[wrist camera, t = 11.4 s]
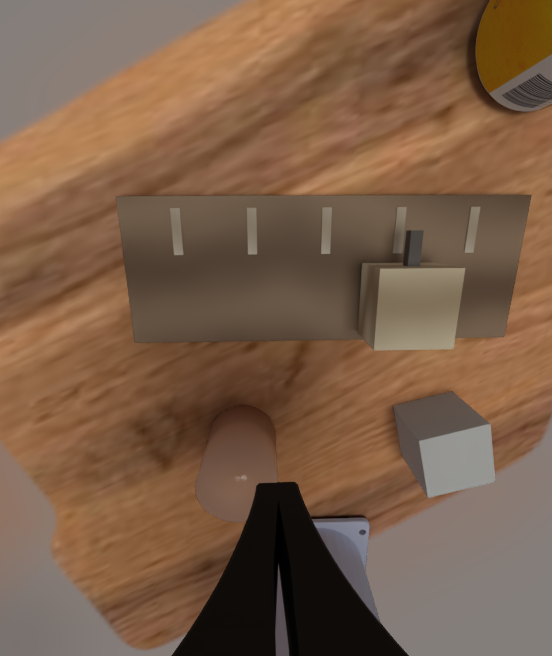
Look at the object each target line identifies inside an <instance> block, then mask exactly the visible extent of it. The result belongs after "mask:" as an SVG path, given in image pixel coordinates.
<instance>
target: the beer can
mask: <svg viewBox="0 0 552 656" xmlns="http://www.w3.org/2000/svg"><path fill="white" fill-rule="evenodd" d="M475 50H476V64H477V71H478V75H479V78H480V80H481V83H482V85H483V86H484V88H485V89H486V91H487V92H488V93H489V94H490V95H491V97H492V98H493V99H494V100H496V101H497V102H498V103H499V104H501V105H503V106H504V107H507V108H509V109H512V110H516V111H523V112H528V111H537V110H540V109H544V108H546V107H549V106H551V105H552V0H490V1H489V3H488V5H487V7H486V9H485V11H484V13H483V16H482V18H481V21H480V24H479V28H478V32H477V38H476V49H475Z"/></svg>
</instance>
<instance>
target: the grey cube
mask: <svg viewBox="0 0 552 656" xmlns="http://www.w3.org/2000/svg"><path fill="white" fill-rule="evenodd" d="M393 410H394V415H395V421H396V426H397V432H398V437H399V443H400V449H401V454H402V456H403V458H404V460H405V461H406V463H407V464H408V466H409V468H410V469H411V471H412V473H413V474H414V476H415V477H416V479H417V481H418V482H419V484H420V486H421V487H422V489H423V490H424V492H425V494H426V495H427V497H428V498H429V497H433V496H437V495H442V494H446V493H450V492H454V491H459V490H463V489H467V488H471V487H476V486H480V485H484V484H488V483H493V482H495V472H494V460H493V449H492V437H491V426H490V423H489V422H488V421H486V420H485V419H484V418H483V417H482V416H481V415H479V414H478V413H477V412H476V411H475V410H473V409H472V408H471V407H470V406H469V405H468V404H466V403H465V402H464V401H463V400H462V399H460V398H459V397H458V396H457V395H456V394H455V393H453V392H452V391H451V392H447V393H443V394H439V395H435V396H430V397H426V398H422V399H418V400H414V401H410V402H406V403H402V404H398V405H394V406H393Z"/></svg>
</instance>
